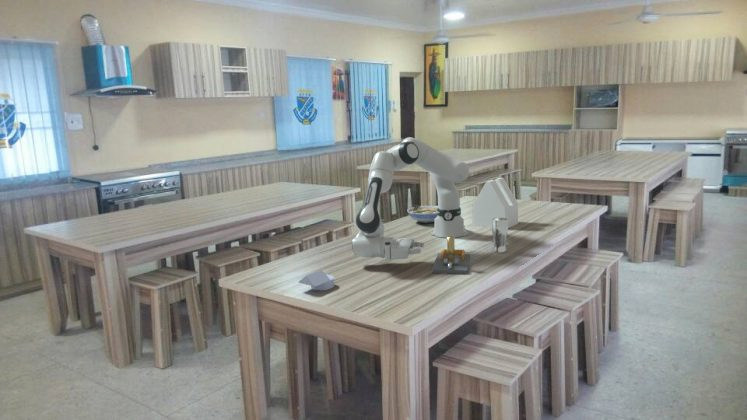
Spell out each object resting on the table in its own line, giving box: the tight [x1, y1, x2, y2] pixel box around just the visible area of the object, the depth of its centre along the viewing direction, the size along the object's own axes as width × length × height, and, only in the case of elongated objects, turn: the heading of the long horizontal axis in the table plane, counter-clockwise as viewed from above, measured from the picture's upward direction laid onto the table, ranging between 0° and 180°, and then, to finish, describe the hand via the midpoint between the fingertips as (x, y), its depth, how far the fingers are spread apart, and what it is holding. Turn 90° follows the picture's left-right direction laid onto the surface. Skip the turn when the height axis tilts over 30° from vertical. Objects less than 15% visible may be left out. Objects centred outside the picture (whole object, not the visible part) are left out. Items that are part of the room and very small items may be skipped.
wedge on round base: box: [298, 269, 335, 291], centre depth 208 cm, size 9×7×13 cm
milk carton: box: [471, 177, 519, 229], centre depth 297 cm, size 19×15×25 cm
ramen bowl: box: [406, 203, 438, 224], centre depth 312 cm, size 25×23×8 cm
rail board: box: [431, 249, 471, 275], centre depth 230 cm, size 24×14×4 cm, turn 168°
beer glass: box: [491, 218, 509, 254], centre depth 245 cm, size 7×7×15 cm
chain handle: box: [443, 236, 459, 269], centre depth 223 cm, size 12×6×11 cm, turn 168°
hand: (422, 247), depth 228 cm, fingers open, 8 cm apart
